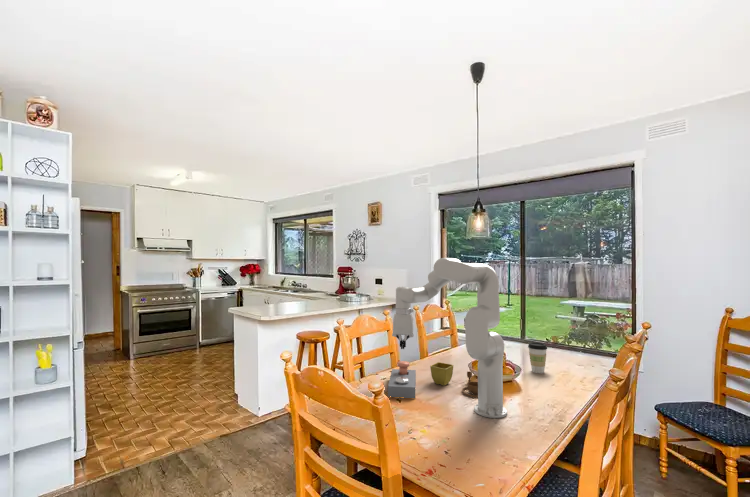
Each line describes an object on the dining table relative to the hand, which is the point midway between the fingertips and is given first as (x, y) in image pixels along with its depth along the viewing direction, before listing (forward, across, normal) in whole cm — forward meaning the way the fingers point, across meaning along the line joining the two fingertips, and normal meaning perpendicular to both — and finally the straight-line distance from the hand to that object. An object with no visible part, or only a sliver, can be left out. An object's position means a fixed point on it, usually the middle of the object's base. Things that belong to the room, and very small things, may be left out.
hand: (402, 348), depth 177 cm
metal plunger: (+17, -1, +14) cm, 22 cm away
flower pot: (+17, -20, -2) cm, 26 cm away
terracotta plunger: (+13, -1, 0) cm, 13 cm away
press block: (+17, -1, +8) cm, 19 cm away
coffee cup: (+17, -74, -28) cm, 81 cm away
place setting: (+17, -36, +6) cm, 40 cm away
